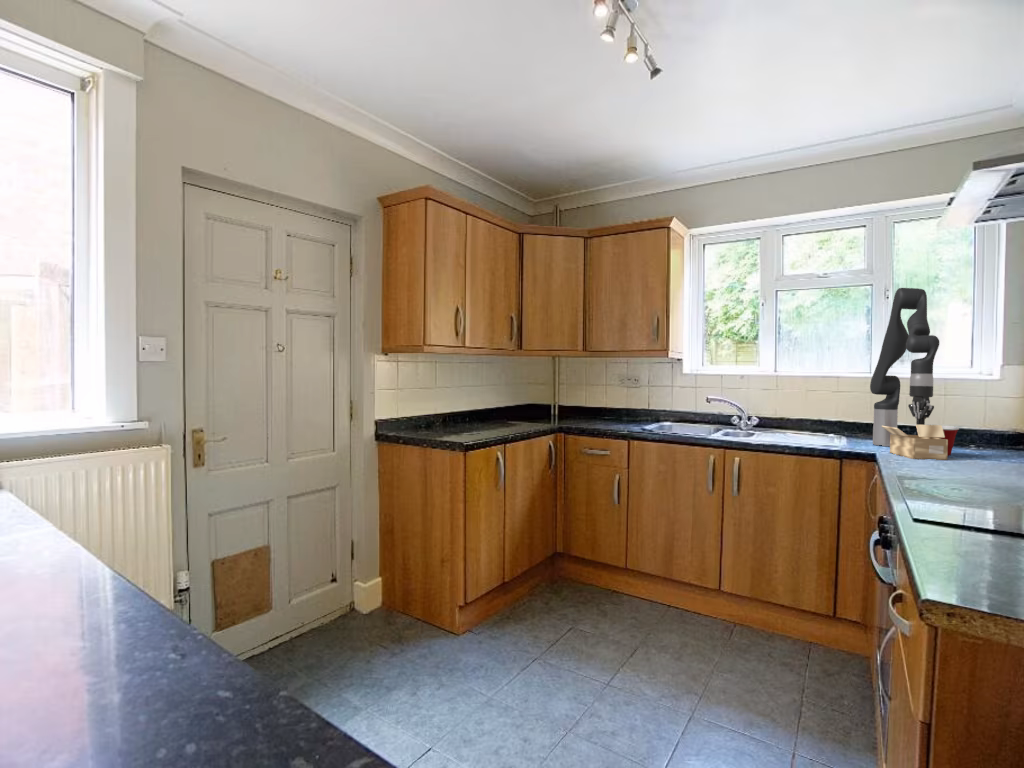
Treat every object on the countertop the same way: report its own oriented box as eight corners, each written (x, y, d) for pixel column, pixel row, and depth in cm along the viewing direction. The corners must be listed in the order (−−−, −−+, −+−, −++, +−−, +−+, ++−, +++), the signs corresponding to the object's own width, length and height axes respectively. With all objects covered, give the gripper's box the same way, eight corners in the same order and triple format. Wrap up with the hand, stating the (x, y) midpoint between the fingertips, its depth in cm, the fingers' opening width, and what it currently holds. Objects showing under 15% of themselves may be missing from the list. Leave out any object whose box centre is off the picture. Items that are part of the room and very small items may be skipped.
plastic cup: (928, 455, 218) (929, 426, 218) (922, 452, 228) (923, 424, 228) (962, 457, 213) (963, 427, 213) (954, 454, 223) (955, 425, 223)
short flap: (918, 436, 206) (919, 436, 205) (915, 424, 208) (916, 424, 207) (944, 437, 204) (944, 437, 204) (941, 425, 206) (941, 425, 206)
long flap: (892, 433, 219) (891, 433, 220) (882, 425, 220) (881, 426, 220) (908, 435, 209) (907, 436, 209) (897, 428, 209) (896, 428, 209)
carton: (889, 453, 222) (890, 434, 221) (921, 454, 220) (921, 435, 220) (913, 459, 206) (913, 438, 206) (947, 460, 204) (948, 439, 204)
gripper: (942, 385, 205) (941, 430, 205) (921, 385, 218) (920, 427, 218) (921, 385, 206) (920, 429, 206) (901, 384, 219) (900, 426, 219)
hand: (920, 428), depth 212 cm, fingers closed
